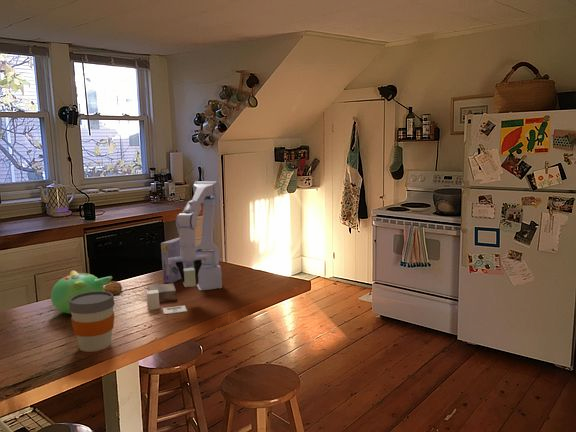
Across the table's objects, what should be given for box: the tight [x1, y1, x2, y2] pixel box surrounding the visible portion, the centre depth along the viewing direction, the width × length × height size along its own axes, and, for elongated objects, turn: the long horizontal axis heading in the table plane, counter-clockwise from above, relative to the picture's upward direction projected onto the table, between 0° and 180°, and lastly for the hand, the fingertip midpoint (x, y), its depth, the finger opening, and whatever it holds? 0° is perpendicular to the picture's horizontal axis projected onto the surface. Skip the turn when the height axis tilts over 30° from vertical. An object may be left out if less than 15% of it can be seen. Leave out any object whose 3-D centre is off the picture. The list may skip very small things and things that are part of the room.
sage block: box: [182, 268, 197, 288], centre depth 183 cm, size 4×4×6 cm
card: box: [162, 305, 188, 315], centre depth 176 cm, size 8×6×1 cm
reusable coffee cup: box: [69, 291, 115, 353], centre depth 146 cm, size 13×13×15 cm
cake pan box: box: [160, 237, 194, 284], centre depth 217 cm, size 19×5×18 cm, turn 158°
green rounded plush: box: [50, 270, 113, 315], centre depth 175 cm, size 18×17×15 cm
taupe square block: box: [147, 282, 177, 303], centre depth 191 cm, size 10×10×4 cm
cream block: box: [146, 290, 161, 311], centre depth 179 cm, size 4×4×6 cm
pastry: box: [103, 280, 123, 296], centre depth 198 cm, size 9×7×4 cm
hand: (189, 280), depth 183 cm, fingers closed on sage block, 4 cm apart
